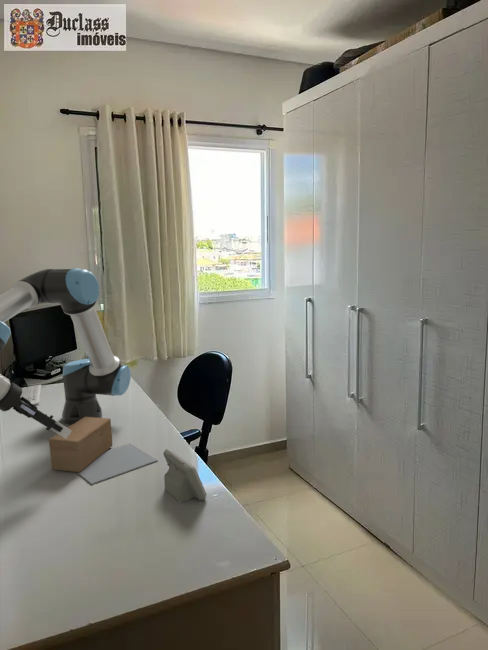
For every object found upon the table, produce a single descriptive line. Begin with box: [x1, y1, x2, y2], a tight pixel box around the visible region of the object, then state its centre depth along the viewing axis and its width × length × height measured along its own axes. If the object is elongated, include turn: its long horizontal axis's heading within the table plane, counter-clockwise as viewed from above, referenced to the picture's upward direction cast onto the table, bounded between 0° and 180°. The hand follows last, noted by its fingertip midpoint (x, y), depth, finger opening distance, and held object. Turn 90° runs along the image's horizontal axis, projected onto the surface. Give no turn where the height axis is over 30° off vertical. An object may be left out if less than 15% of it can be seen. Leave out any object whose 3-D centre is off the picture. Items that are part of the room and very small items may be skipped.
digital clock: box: [163, 448, 207, 503], centre depth 135 cm, size 16×9×11 cm, turn 23°
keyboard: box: [20, 384, 42, 406], centre depth 223 cm, size 29×10×2 cm, turn 20°
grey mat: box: [76, 443, 158, 486], centre depth 154 cm, size 22×18×1 cm
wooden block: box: [48, 417, 113, 473], centre depth 157 cm, size 10×10×20 cm
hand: (68, 434), depth 144 cm, fingers closed
